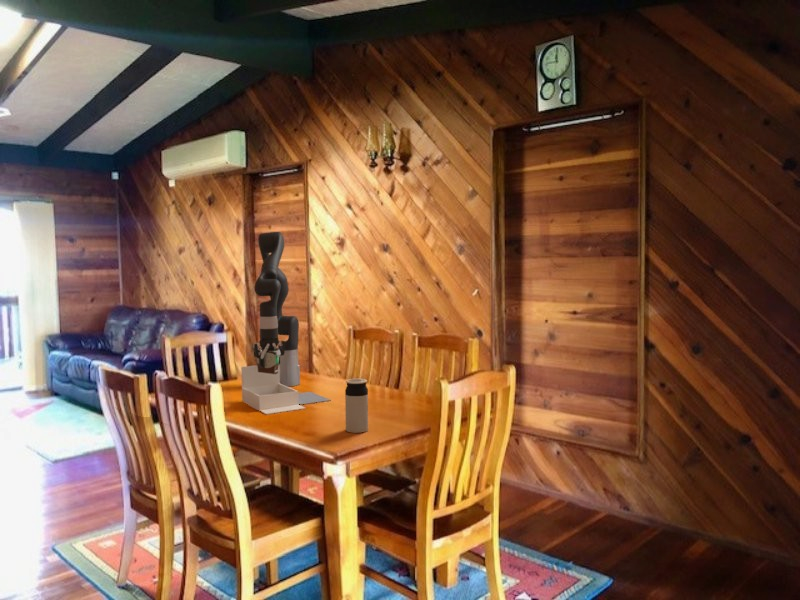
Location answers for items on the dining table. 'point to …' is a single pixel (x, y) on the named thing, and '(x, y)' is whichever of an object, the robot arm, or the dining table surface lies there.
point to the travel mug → (356, 405)
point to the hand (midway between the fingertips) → (269, 366)
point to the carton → (267, 392)
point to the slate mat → (310, 398)
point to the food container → (269, 362)
